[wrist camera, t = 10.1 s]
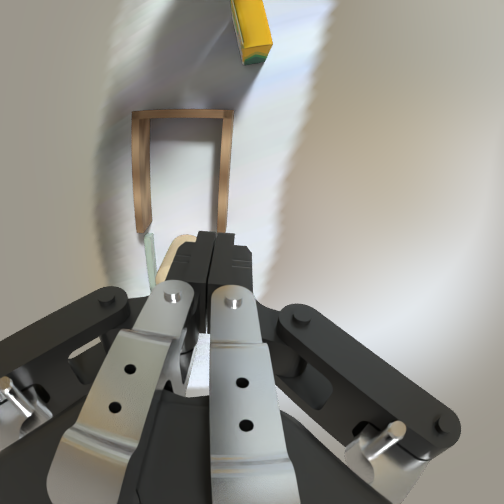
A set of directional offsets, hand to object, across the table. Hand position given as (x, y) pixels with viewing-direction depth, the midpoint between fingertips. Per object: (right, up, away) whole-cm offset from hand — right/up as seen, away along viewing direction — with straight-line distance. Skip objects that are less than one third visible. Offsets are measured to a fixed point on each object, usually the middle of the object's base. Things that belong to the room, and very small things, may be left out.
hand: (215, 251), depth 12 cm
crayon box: (+1, +26, +15) cm, 30 cm away
